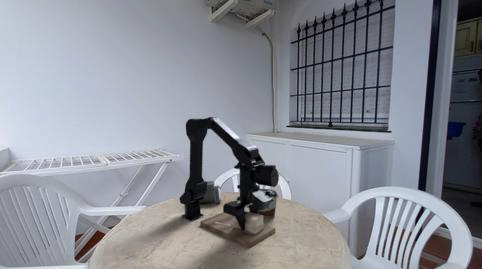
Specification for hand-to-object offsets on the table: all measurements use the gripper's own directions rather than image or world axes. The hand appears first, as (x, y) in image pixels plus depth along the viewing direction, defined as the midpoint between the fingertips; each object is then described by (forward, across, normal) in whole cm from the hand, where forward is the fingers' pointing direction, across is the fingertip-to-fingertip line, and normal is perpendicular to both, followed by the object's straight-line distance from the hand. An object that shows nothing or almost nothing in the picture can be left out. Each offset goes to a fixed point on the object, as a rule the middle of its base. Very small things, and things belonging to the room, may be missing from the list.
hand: (248, 227), depth 83 cm
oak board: (+2, 0, +6) cm, 6 cm away
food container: (+2, +17, +7) cm, 18 cm away
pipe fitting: (+3, +11, +35) cm, 36 cm away
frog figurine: (+3, +23, +20) cm, 30 cm away
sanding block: (+1, 0, 0) cm, 1 cm away
